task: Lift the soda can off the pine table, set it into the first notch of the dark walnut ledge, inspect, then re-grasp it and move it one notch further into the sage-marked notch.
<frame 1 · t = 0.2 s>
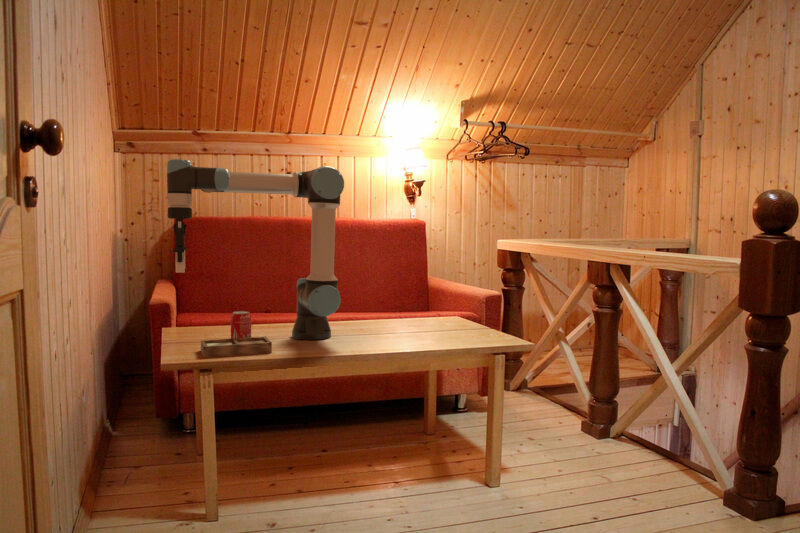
hand: (180, 270, 188), 27 cm above the table, fingers open, 13 cm apart
notch ledge: (236, 351, 193), on the table
soda can: (241, 345, 203), on the table
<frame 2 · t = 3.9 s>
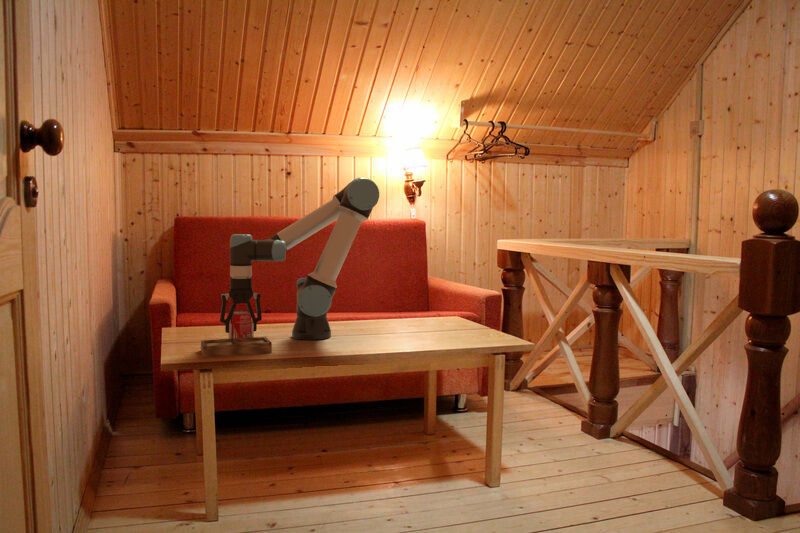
hand: (241, 340, 203), 2 cm above the table, fingers closed on soda can, 7 cm apart
soda can: (241, 345, 203), on the table, touching gripper
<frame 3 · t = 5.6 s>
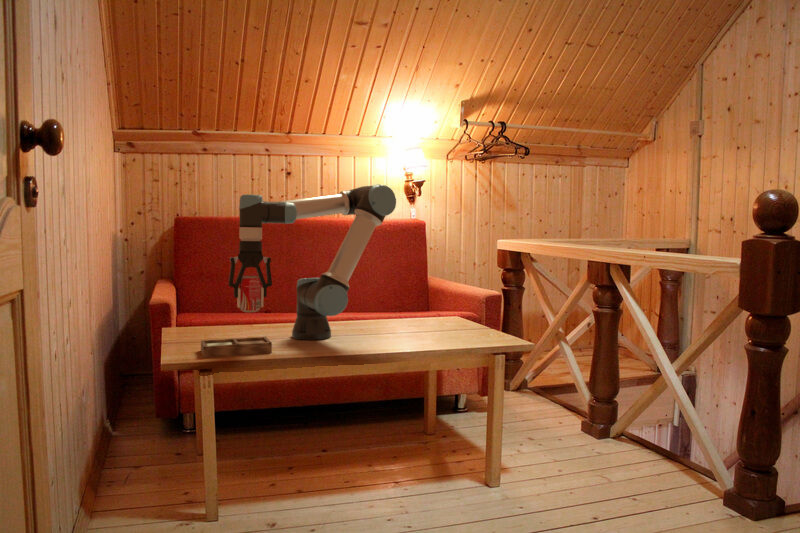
hand: (250, 306, 194), 15 cm above the table, fingers closed on soda can, 7 cm apart
soda can: (250, 311, 194), point 13 cm above the table, touching gripper
when the fingers open (5 cm above the table, at t = 7.7 s): soda can drops 1 cm, resting on notch ledge.
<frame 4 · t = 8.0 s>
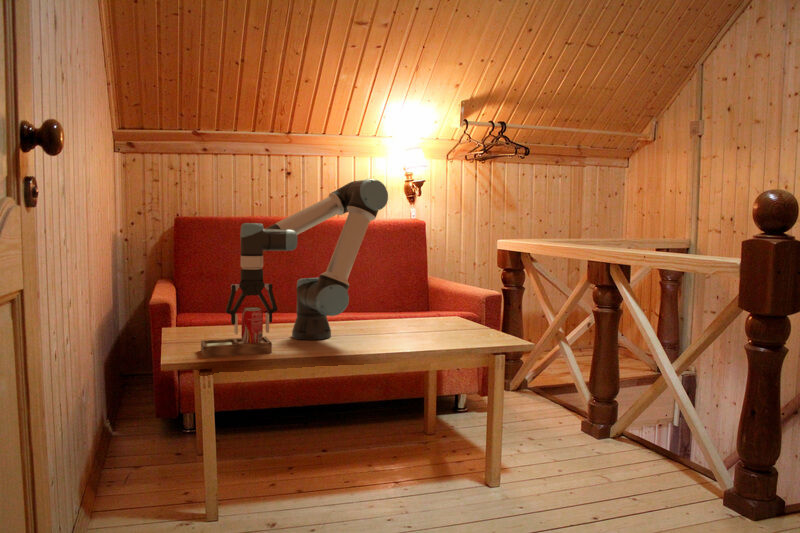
hand: (251, 332, 194), 6 cm above the table, fingers open, 10 cm apart
soda can: (251, 343, 195), point 2 cm above the table, touching notch ledge
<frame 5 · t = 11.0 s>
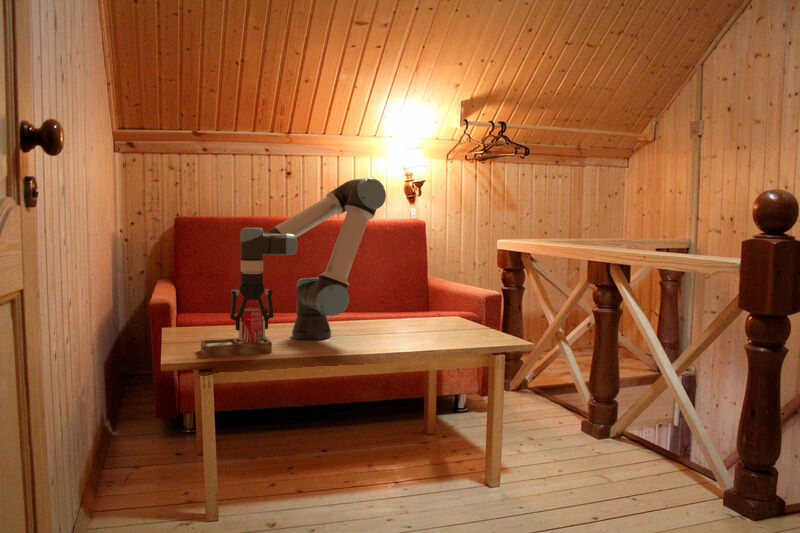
hand: (251, 339, 194), 4 cm above the table, fingers closed on soda can, 7 cm apart
soda can: (251, 343, 195), point 2 cm above the table, touching gripper, notch ledge
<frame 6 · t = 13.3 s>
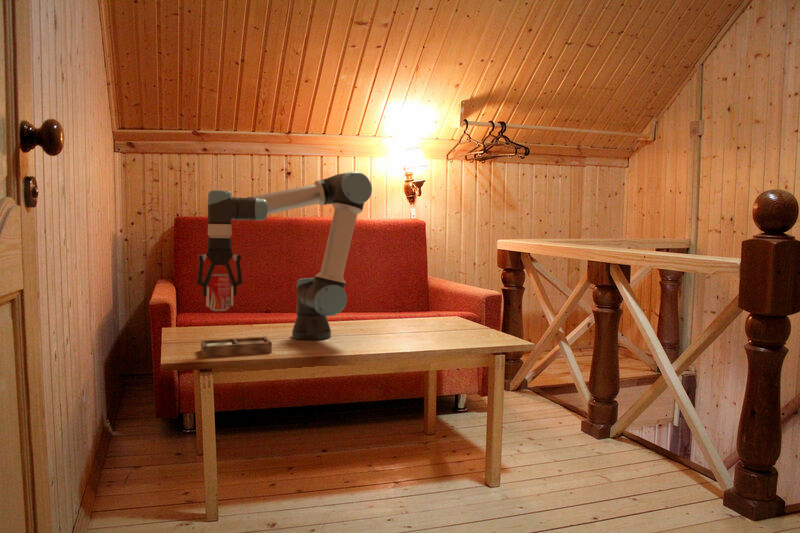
hand: (219, 305, 189), 16 cm above the table, fingers closed on soda can, 7 cm apart
soda can: (219, 310, 190), point 14 cm above the table, touching gripper
when the fingers open (5 cm above the table, at t = 15.4 s): soda can drops 1 cm, resting on notch ledge.
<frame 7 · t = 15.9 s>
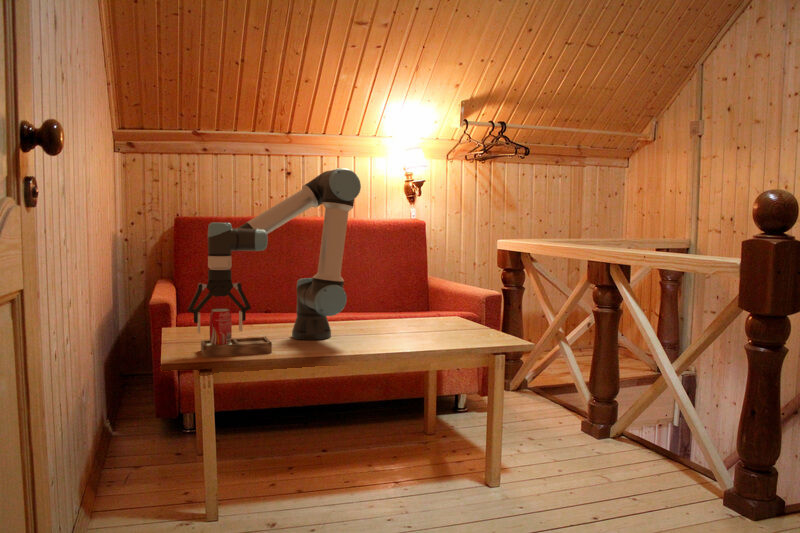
hand: (220, 331, 190), 7 cm above the table, fingers open, 13 cm apart
soda can: (220, 345, 191), point 2 cm above the table, touching notch ledge
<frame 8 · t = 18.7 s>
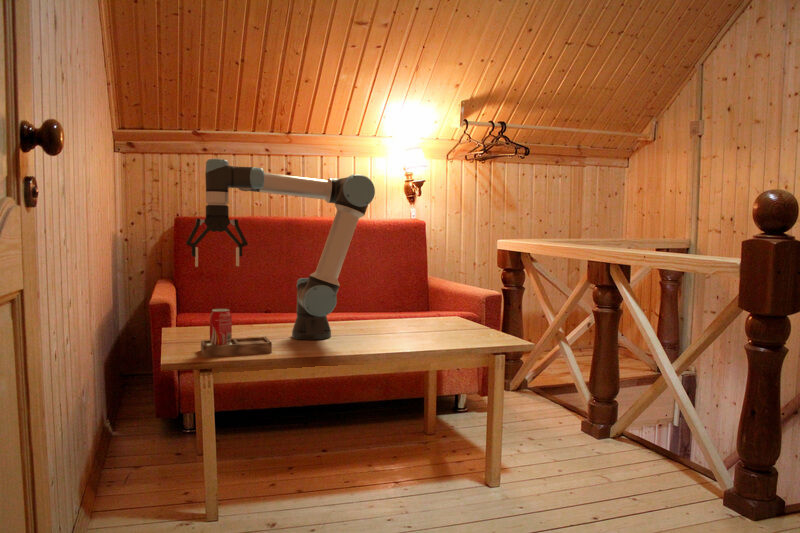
hand: (217, 266, 196), 29 cm above the table, fingers open, 13 cm apart
nothing on the table moved.
at the end: soda can inside the target area (0.3 cm from its centre), point 2.4 cm above the table; soda can tilted 0°; the gripper is holding nothing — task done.
